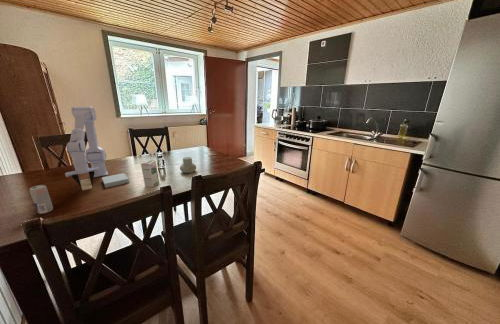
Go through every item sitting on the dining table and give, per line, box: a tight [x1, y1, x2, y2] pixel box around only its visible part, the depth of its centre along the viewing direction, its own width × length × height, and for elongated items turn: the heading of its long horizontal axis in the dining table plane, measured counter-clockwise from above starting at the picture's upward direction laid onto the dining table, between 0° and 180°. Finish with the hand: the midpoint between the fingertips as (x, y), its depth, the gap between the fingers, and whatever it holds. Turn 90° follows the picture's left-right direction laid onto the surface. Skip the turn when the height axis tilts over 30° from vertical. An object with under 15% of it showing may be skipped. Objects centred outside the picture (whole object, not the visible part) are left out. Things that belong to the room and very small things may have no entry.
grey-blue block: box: [101, 173, 130, 189], centre depth 124 cm, size 12×12×3 cm
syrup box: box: [140, 159, 160, 188], centre depth 119 cm, size 6×6×14 cm
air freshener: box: [179, 156, 197, 174], centre depth 141 cm, size 11×8×10 cm
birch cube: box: [79, 178, 93, 191], centre depth 115 cm, size 4×4×4 cm
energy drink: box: [29, 184, 54, 215], centre depth 91 cm, size 5×5×12 cm
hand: (86, 185), depth 116 cm, fingers closed on birch cube, 4 cm apart
